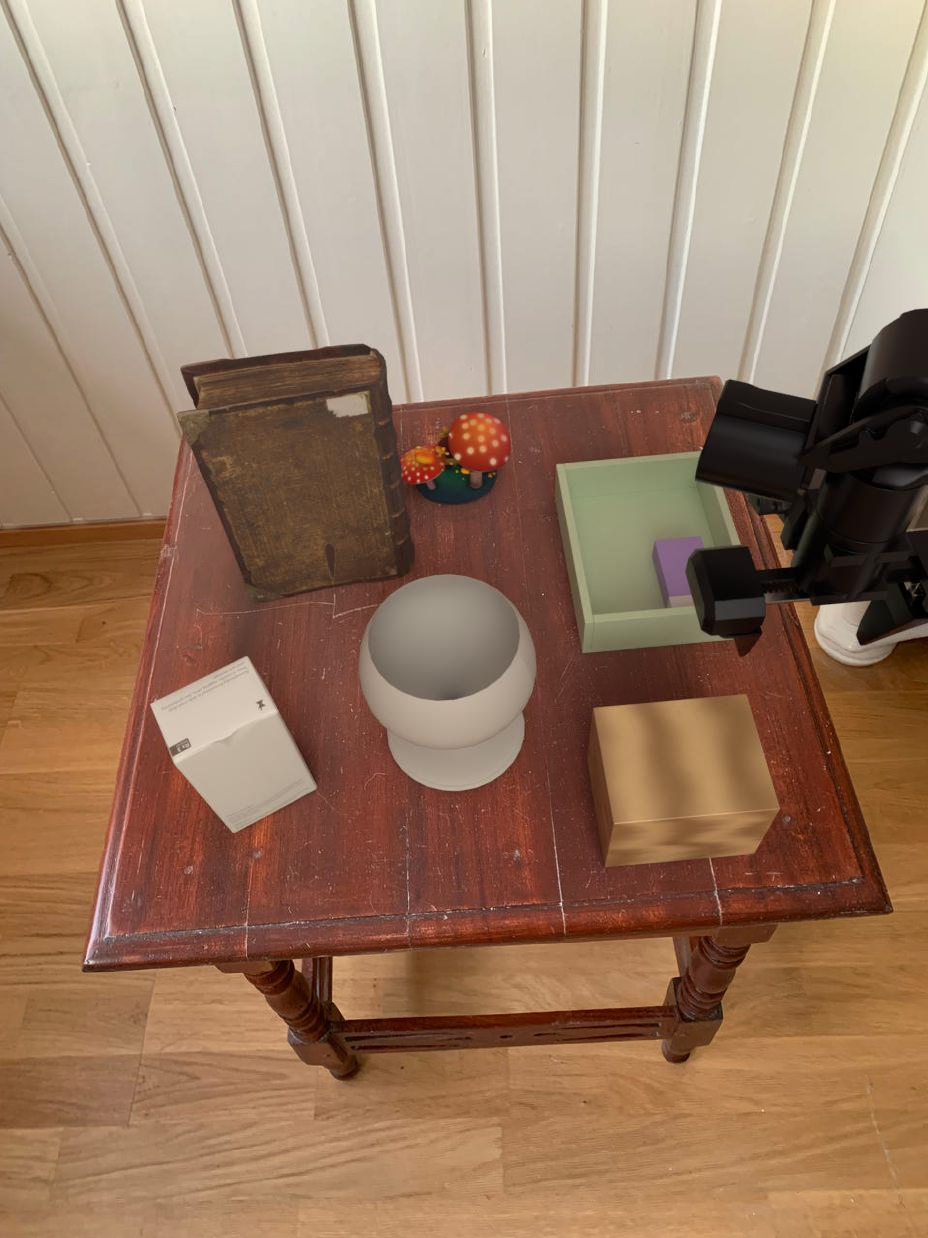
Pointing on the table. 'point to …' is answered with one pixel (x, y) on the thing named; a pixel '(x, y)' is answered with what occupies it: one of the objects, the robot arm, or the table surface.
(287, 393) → the book
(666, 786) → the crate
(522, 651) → the chalice
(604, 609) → the tray
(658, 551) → the chocolate bar
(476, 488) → the figurine
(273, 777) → the cosmetic box
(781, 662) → the table surface
